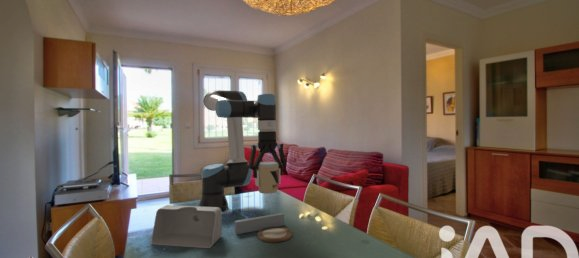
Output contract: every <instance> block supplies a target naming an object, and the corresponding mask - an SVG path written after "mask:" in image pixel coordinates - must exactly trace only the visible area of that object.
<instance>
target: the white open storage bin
mask: <svg viewBox="0 0 579 258" xmlns="http://www.w3.org/2000/svg"><path fill="white" fill-rule="evenodd" d="M222 221H223V219H222V211H221V209H220V208H219V207H200V206H199V205H198V206H195V205H174V204H173V205H172V204H171V205H170V204H167V205H164V206H162V207H160V208H159V209H157V210H156V212H155V217H154V225H153V229H152V234H151V239H150V240H151V242H150V243H151V245H154V246H155V245H158V246H171V247H173V246H174V247H184V248H185V247H186V248H187V247H188V248H189V247H190V248H199V249H204V248H205V249H210V248H212V247H213V246H214V244H216V242H217V241H219V239H221V237H222V235H223V234H222V233H223V231H222V227H223V226H222V225H223V224H222Z"/></svg>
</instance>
